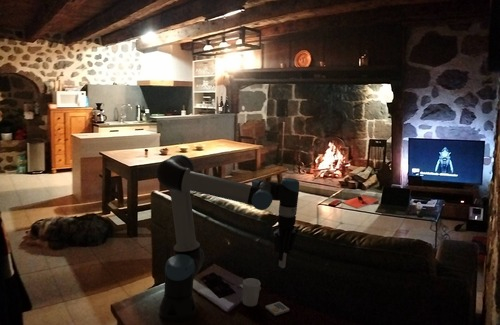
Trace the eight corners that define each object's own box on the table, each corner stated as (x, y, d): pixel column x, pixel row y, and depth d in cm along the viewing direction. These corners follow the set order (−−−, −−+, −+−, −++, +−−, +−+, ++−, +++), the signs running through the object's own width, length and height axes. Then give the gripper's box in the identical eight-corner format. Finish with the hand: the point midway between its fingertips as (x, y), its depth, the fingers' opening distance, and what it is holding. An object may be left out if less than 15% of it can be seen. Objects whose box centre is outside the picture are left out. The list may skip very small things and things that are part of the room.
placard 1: (239, 286, 195) (239, 284, 195) (252, 283, 200) (252, 281, 199) (247, 293, 189) (247, 291, 189) (260, 289, 194) (261, 287, 194)
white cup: (256, 308, 177) (258, 288, 175) (239, 305, 179) (240, 284, 177) (260, 300, 184) (262, 280, 183) (243, 296, 186) (245, 276, 184)
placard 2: (265, 307, 178) (265, 305, 178) (279, 303, 183) (279, 301, 183) (275, 315, 173) (275, 313, 172) (289, 311, 177) (289, 308, 177)
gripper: (281, 219, 163) (275, 273, 167) (304, 215, 170) (298, 267, 175) (269, 213, 169) (264, 266, 173) (292, 210, 176) (287, 260, 181)
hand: (281, 266), depth 174 cm, fingers closed
